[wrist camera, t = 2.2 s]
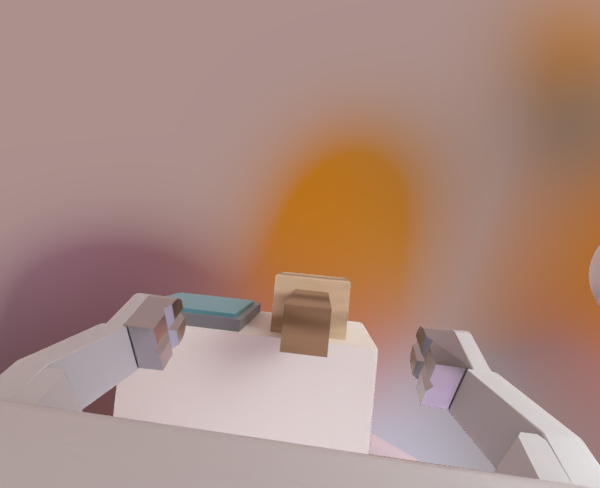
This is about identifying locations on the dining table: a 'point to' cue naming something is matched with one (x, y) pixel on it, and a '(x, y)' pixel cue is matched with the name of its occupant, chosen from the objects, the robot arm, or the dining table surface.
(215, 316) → the pad
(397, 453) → the dining table surface
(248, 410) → the white block
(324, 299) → the stamp
